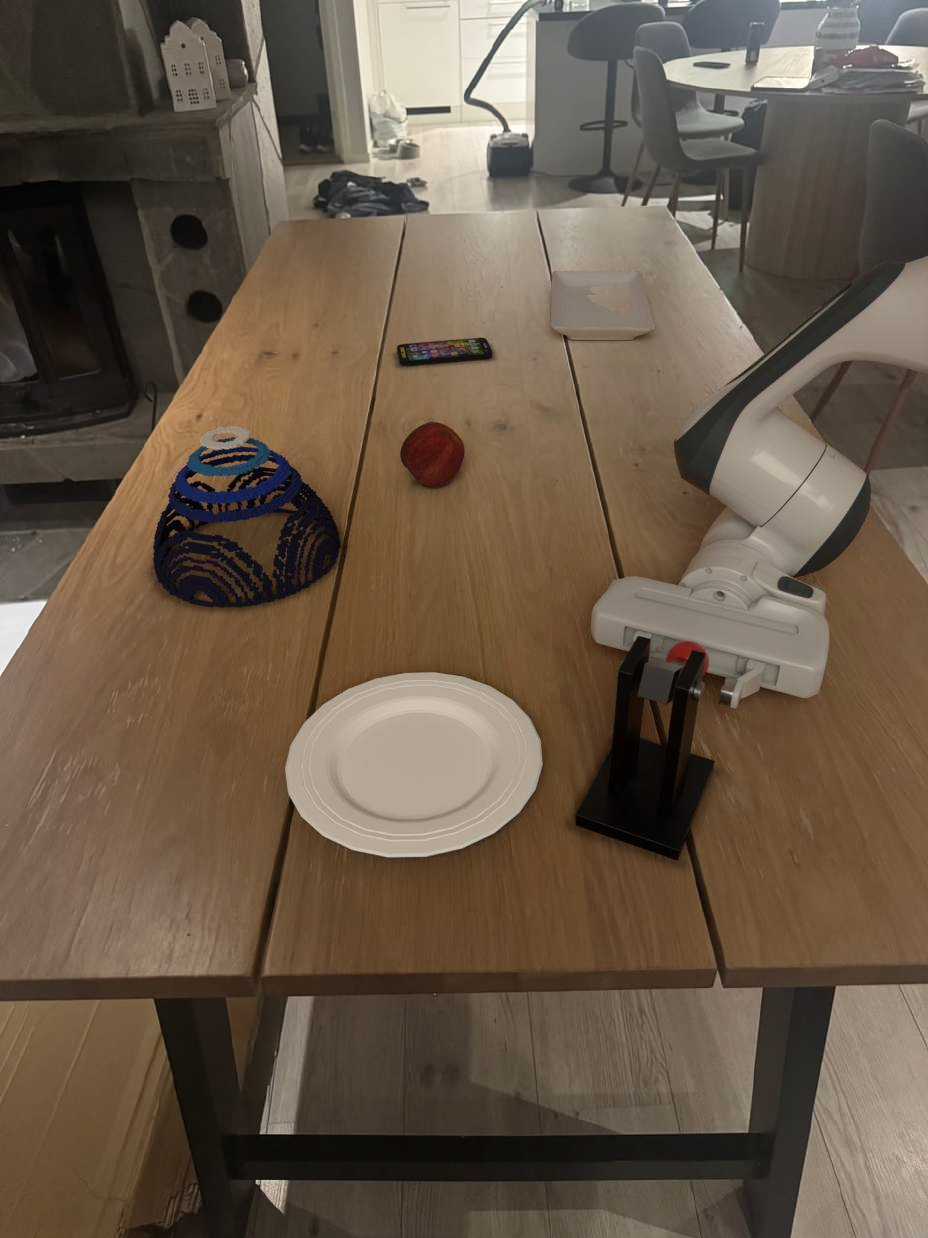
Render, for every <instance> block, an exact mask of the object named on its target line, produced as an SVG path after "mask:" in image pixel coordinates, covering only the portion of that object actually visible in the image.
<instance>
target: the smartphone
mask: <svg viewBox="0 0 928 1238" xmlns="http://www.w3.org/2000/svg"><path fill="white" fill-rule="evenodd" d="M396 351H397V352H396V355H397V358H398V362H399V365H400V366H416V365H429V364H443V363H453V362H464V361H465V362H466V361H476V360H488V359H491V358H492V357H493V350H492V347H491V345H490V343H489V341H488V339H487V338H486V337H471V338H459V339H446V340H445V339H444V340H434V341H433V340H432V341H423V342H421V341H420V342H409V343H402V344H398V345H397V346H396Z"/></svg>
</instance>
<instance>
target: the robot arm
mask: <svg viewBox="0 0 928 1238" xmlns="http://www.w3.org/2000/svg"><path fill="white" fill-rule="evenodd" d="M850 361H851V362H853V361H854V362H855V361H857V362H858V361H860V362H861V361H863V362H871V363H879V364H885V365H890V366H893V367H894V366H895V367H899V368H903V369H907V370H911V371H913V372H917V373H920V374H923V375H927V376H928V255H925V256H923V257H921V258H918V259H915V260H912V261H908V262H906V261H895V260H894V261H893V260H885V261H883V262H881V263H879V264H876V265H875V266H873V267H871V268H870V269H868V270H866V271H865V272H863V273H862V274H860V275H859V276H857V277H856V278H855V279H853V280H852V281H851V282H849V283H848V284H847V285H846V286H844V287H843V288H842V289H840V290H839V291H838V292H837V293H835V294H834V295H833V296H831V298H829V299H828V300H827V301H825V302H824V303H823V304H822V305H821V306H819V307H818V308H817V309H816V310H815V311H813V312H812V313H811V314H810V315H808V316H807V317H806V318H805V319H803V320H802V321H801V322H800V323H799V324H798V325H796V326H795V327H794V328H793V329H792V330H791V331H790V332H788V333H787V334H786V335H785V336H784V337H782V338H781V339H780V340H779V341H778V342H776V343H775V344H774V345H773V346H772V347H770V349H768V350H767V351H766V352H764V354H762V355H761V356H760V357H759V358H757V360H755V361H754V362H753V363H752V364H751V365H749V366H748V367H747V368H746V369H745V370H743V371H742V372H740V373H739V374H738V375H737V376H735V377H734V378H733V379H731V380H729V382H727V383H726V384H725V385H724V386H722V387H720V388H719V389H718V390H716V391H714V392H712V393H711V394H709V395H708V396H706V397H705V398H704V399H703V400H701V401H700V402H699V403H698V404H697V405H696V406H695V407H694V408H692V410H691V411H690V412H689V414H687V416H686V417H685V419H684V420H683V422H682V424H681V425H680V427H679V429H678V432H677V433H676V436H675V438H674V440H673V451H674V457H675V461H676V467H677V470H678V472H679V475H680V478H681V480H683V481H685V482H686V483H688V484H690V485H691V486H693V487H695V488H697V489H698V490H700V491H701V492H703V493H705V494H707V495H708V496H712V497H713V498H715V499H716V500H718V501H719V503H721V504H723V505H724V506H725V508H724V509H723V510H722V511H721V512H720V514H718V516H717V517H716V518H715V520H714V521H713V523H712V524H711V526H710V527H709V528H708V530H707V531H706V534H705V535H704V537H703V539H702V541H701V544H700V546H699V550H698V551H697V552H696V553H695V554H694V556H693V557H692V559H691V560H690V562H689V564H688V566H687V568H686V570H684V573H683V574H682V576H681V578H680V581H679V582H678V584H674V583H669V582H666V581H661V580H658V579H653V578H648V577H644V576H639V575H629V576H624V577H622V578H615V579H614V580H613V581H612V582H611V583H610V585H609V586H608V588H607V590H606V591H605V592H604V593H603V594H602V595H601V596H600V597H599V598H598V599H597V601H596V603H595V604H594V605H593V606H592V607H593V608H592V611H591V616H590V617H591V618H590V634H591V636H592V638H593V640H594V642H595V643H597V644H598V645H602V646H606V647H610V648H613V649H616V650H621V651H625V652H627V653H628V652H629V651H630V649H631V647H632V645H633V643H634V642H635V640H636V638H637V637H638V636H642V637H645V638H649V639H651V642H650V652H649V661H650V660H652V659H657V660H661V661H665V662H666V656H667V653H668V651H669V650H670V649H671V647H672V646H674V645H675V644H676V643H678V642H681V641H693V642H696V643H698V644H700V645H701V646H702V647H703V648H704V649H705V650H706V652H707V654H708V657H709V667H708V670H707V672H706V674H711V675H715V676H719V677H723V678H724V681H723V684H722V687H721V688H720V692H719V699H718V705H721V706H724V707H728V708H731V709H734V710H737V709H738V707H739V704H740V701H741V700H742V699H744V698H746V697H749V696H750V695H753V694H755V693H757V692H759V691H760V690H761V689H760V688H763V689H766V690H767V689H768V690H771V691H774V692H778V693H782V694H786V695H789V696H793V697H797V698H801V699H810V698H812V697H814V696H817V695H818V694H819V693H820V690H821V687H822V683H823V679H824V676H825V671H826V666H827V662H828V658H829V652H830V642H831V640H830V639H831V631H830V625H829V622H828V620H827V618H826V611H827V610H826V609H827V594H826V592H824V591H823V590H821V589H820V588H817V587H815V586H813V585H810V584H809V583H806V582H803V581H802V580H799V579H797V578H799V577H804V576H808V575H810V574H813V573H817V572H820V571H821V570H823V569H824V568H827V567H828V566H829V565H830V564H832V563H833V562H834V561H836V560H837V559H838V558H839V557H840V556H841V555H843V553H844V552H845V551H846V550H847V548H848V547H849V546H850V545H851V544H852V543H853V541H854V540H855V539H856V537H857V536H858V534H859V532H860V531H861V529H862V527H863V525H864V523H865V521H866V520H867V517H868V514H869V512H870V508H871V498H872V497H871V496H872V486H871V480H870V477H869V473H868V472H865V471H864V470H863V469H862V468H861V467H859V465H857V464H855V463H854V462H853V461H852V460H850V459H849V458H848V457H847V456H845V455H844V454H842V453H841V452H840V451H838V450H837V449H835V448H834V447H833V446H832V445H830V444H829V443H826V442H824V441H823V440H822V439H820V438H819V437H818V436H816V435H815V434H814V433H812V432H810V431H809V430H808V429H807V428H805V427H804V426H802V425H801V424H799V423H798V422H797V421H796V420H794V419H793V418H791V417H790V416H789V415H787V414H786V413H785V412H783V410H781V409H780V407H779V406H780V405H782V404H783V403H784V402H785V401H786V400H788V399H789V398H790V397H792V396H793V395H794V394H796V393H797V392H798V391H799V390H800V389H802V388H804V386H806V385H807V384H808V383H810V382H811V381H812V380H814V379H815V378H816V377H818V376H819V375H820V374H822V373H823V372H824V371H826V370H827V369H829V368H830V367H832V366H834V365H837V364H841V363H846V362H850ZM649 661H648V662H649Z"/></svg>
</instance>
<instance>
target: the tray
mask: <svg viewBox="0 0 928 1238" xmlns="http://www.w3.org/2000/svg"><path fill="white" fill-rule="evenodd" d="M616 283H628V284H629V292H630V293H629V295H631V301H632V302H631V313H630V314H629V316H628V315H627V316H625V315H623V316H622V315H619V314H620V313H618V312H615V311H613V312H612V310H610V308H609V309H608V308H606V307H605V308H604V306H602V307H601V305H599V306H598V304H596V303H595V302H594V303H593V302H592V301H590V300H591V299H589V296H588V295H597V294H595V293H594V292H593V293H592V291H591V290H590V288H591V287H593V286H594V287H596V286H599V285H600V286H602V285H604V286H605V285H610V284H616ZM587 296H588V297H587ZM550 327H551V329H552V330H553V331H555V332H557V333H559V334H561V335H563V336H566V337H567V338H568V339H569V340H572V341H632V340H634V339H635V338H636V337H639V336H642V335H645V334H649V333H650V332H652V331H655V329H656V323H655V320H654V317H653V313H652V309H651V304H650V301H649V297H648V293H647V289H646V285H645V282H644V277H643V274H642V272H641V271H639V270H638V271H637V270H554V271H552V273H551V283H550Z"/></svg>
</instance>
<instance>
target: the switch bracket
mask: <svg viewBox="0 0 928 1238" xmlns="http://www.w3.org/2000/svg"><path fill="white" fill-rule="evenodd" d="M650 642H651V639H649V638H645V637H642V636H638V637H637V638H636V640H635V642H634V643H633V645H632V647H631V649H630V651H629V652H628V651H627V654H626V656H625V658H624V659H623V660H621V661H620V663H619V665H618V667H617V669H616V689H615V690H616V691H615V701H614V702H615V704H614V715H613V726H612V727H613V728H612V738H611V747H610V749H609V751H608V753H607V755H606V757H605V758H604V761H603V763H602V765H600V769H599V770H598V772H597V774H596V776H595V777H594V779H593V781H592V784H591V785H590V787H589V789H588V792H587V793H586V795H585V796H584V799H583V801H582V802H581V805H580V806H579V808H578V810H577V812H576V814H575V826H577V827H580V828H582V829H586V830H587V831H592V832H594V833H597V834H600V835H603V836H604V837H608V838H611V839H613V840H617V841H620V842H622V843H626V844H628V845H630V846H634V847H637V848H640V849H641V850H642V849H643V850H645V851H648V852H651V853H653V854H657V855H660V856H662V857H664V858H665V857H666V858H668V859H671V860H674V861H677V862H678V861H679V859H680V857H681V854H682V851H683V849H684V846H685V844H686V841H687V838H688V836H689V834H690V831H691V829H692V827H693V824H694V820H695V818H696V815H697V813H698V812H699V811H698V810H699V808H700V806H701V802H702V801H703V798H704V795H705V792H706V790H707V788H708V785H709V782H710V780H711V778H712V775H713V773H714V767H715V762H716V760H714V759H711V758H707V757H704V756H700V755H698V754H694V753H691V752H692V746H693V740H694V733H695V726H696V721H697V713H698V709H699V708H698V707H699V703H700V702H701V700H702V697H703V695H704V691H705V685H706V684H705V682H703V677H704V676H703V669H704V663H705V656H706V653H703V652H700V651H696V650H692V651H691V653H690V655H689V658H688V660H687V662H686V664H685V666H684V668H683V670H682V672H681V674H680V676H679V678H678V680H677V682H676V684H675V687H674V694H673V700H672V701H671V702H672V703H671V710H670V711H671V712H670V717H669V719H670V720H669V724H668V726H669V727H668V732H667V741H666V745H665V744H661V743H658V742H655V741H652V740H648V739H644V738H641V735H642V725H643V716H644V707H645V706H644V705H645V698H641V697H638V696H637V693H638V689H639V685H640V680H641V676H642V672H643V667H644V664H645V663H647V662H648V661H649V652H650ZM702 676H703V677H702Z"/></svg>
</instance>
